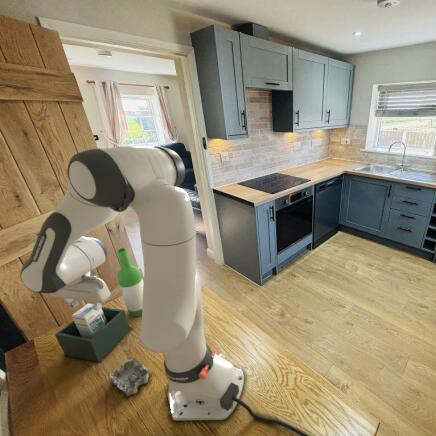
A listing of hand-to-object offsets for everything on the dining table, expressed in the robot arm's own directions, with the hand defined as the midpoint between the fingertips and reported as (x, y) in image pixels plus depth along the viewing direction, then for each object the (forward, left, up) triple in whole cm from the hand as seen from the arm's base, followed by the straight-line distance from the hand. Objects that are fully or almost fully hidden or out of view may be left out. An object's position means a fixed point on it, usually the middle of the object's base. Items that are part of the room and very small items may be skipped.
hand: (86, 307), depth 80 cm
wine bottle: (-3, -16, -17) cm, 23 cm away
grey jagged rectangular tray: (-22, +10, -17) cm, 29 cm away
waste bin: (0, 0, -16) cm, 16 cm away
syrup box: (0, 0, -16) cm, 16 cm away
